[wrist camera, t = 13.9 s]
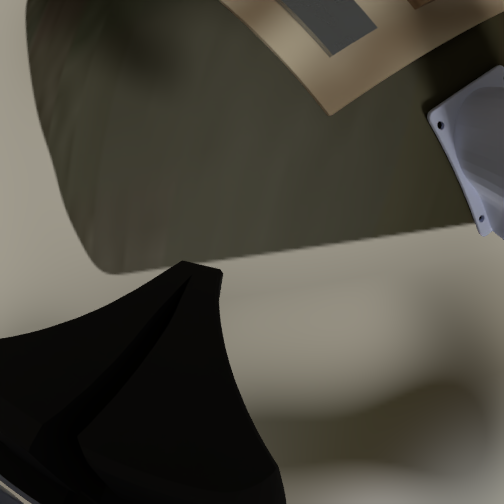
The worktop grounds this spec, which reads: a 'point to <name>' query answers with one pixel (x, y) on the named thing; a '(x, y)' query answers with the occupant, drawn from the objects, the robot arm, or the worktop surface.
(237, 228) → the worktop surface
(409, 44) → the socket board
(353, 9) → the bar
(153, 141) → the worktop surface
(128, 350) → the robot arm
